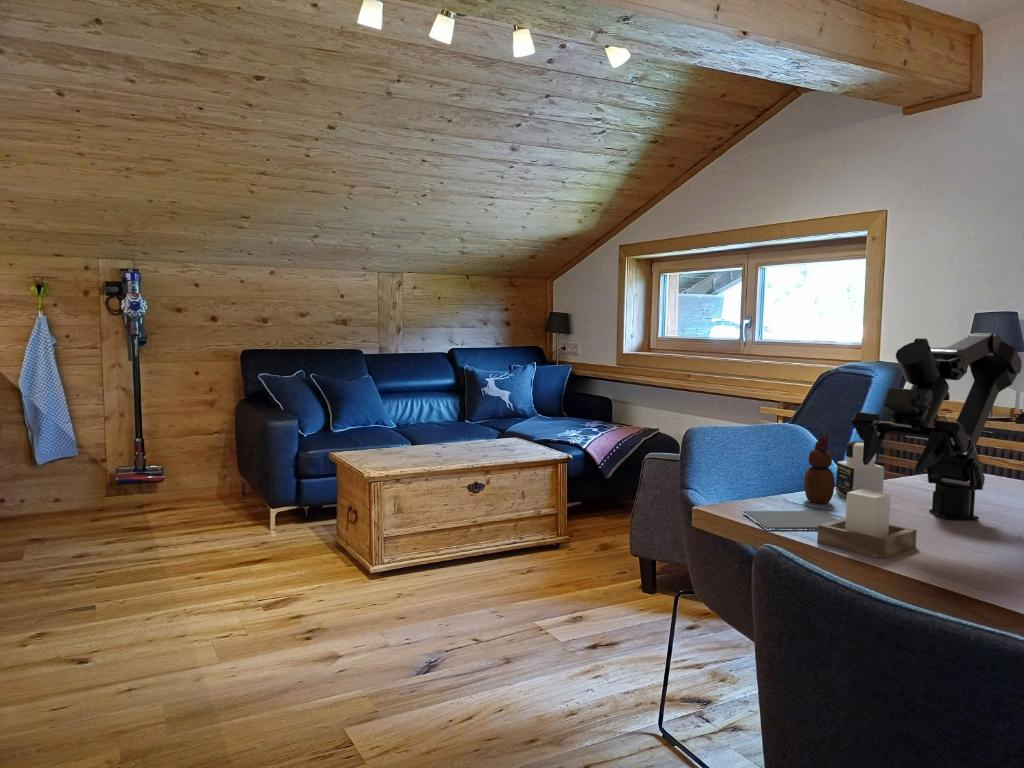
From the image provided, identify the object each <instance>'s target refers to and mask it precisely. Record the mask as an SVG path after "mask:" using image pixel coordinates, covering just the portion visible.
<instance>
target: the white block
mask: <svg viewBox="0 0 1024 768" xmlns="http://www.w3.org/2000/svg"><path fill="white" fill-rule="evenodd" d="M845 509H846V510H845V511H846V512H845V518H846V526H845V530H849V531H853V532H858V533H862V534H866V535H870V536H875V537H879V538H880V537H883V536H886V535H888V532H889V524H890V511H891V494H890V493H885V492H883V493H881V492H876V491H871V490H865V489H860V490H856V491H851V492H847V497H846V508H845Z"/></svg>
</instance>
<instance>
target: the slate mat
mask: <svg viewBox="0 0 1024 768" xmlns="http://www.w3.org/2000/svg"><path fill="white" fill-rule="evenodd" d="M743 512H744V513H746V514H747V515H749V516H750V517H752V518H753V519H755V520H756V521H757V522H759V523H760V524H761V525H762V526H764V527H765V528H766V529H770V528H771V529H773V528H774V529H803V530H802V531H805V530H804V529H807V530H806V531H818V525H821V524H824V523H828V522H832V521H835V520H839V519H838V518H836V517H834V516H832V515H830V514H828V513H826V512H825V511H823V510H743V511H742V513H743ZM810 529H811V530H810ZM813 529H814V530H813Z"/></svg>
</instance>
